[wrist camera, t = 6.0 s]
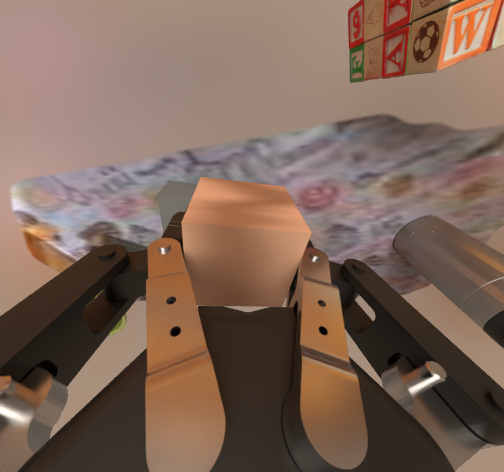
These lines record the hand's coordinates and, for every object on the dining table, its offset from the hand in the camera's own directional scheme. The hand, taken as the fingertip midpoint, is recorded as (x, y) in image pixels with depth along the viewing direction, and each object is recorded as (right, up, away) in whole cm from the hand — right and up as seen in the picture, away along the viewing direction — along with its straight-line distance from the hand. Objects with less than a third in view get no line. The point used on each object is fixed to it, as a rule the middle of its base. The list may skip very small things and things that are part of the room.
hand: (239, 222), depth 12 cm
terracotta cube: (0, 0, 0) cm, 0 cm away
